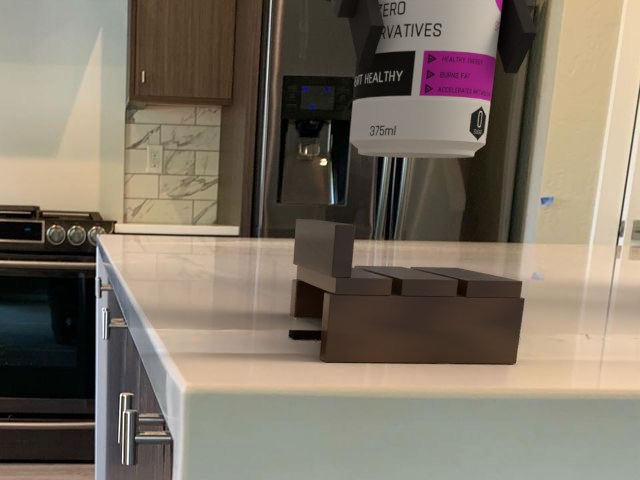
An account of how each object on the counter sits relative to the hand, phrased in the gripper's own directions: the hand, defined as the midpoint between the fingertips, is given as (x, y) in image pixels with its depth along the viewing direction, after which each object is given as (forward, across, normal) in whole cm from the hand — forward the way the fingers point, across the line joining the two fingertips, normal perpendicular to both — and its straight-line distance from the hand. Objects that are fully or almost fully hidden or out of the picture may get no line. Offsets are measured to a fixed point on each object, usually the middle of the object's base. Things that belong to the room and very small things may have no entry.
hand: (446, 50), depth 55 cm
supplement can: (+2, 0, -6) cm, 7 cm away
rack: (+11, 0, -14) cm, 18 cm away
